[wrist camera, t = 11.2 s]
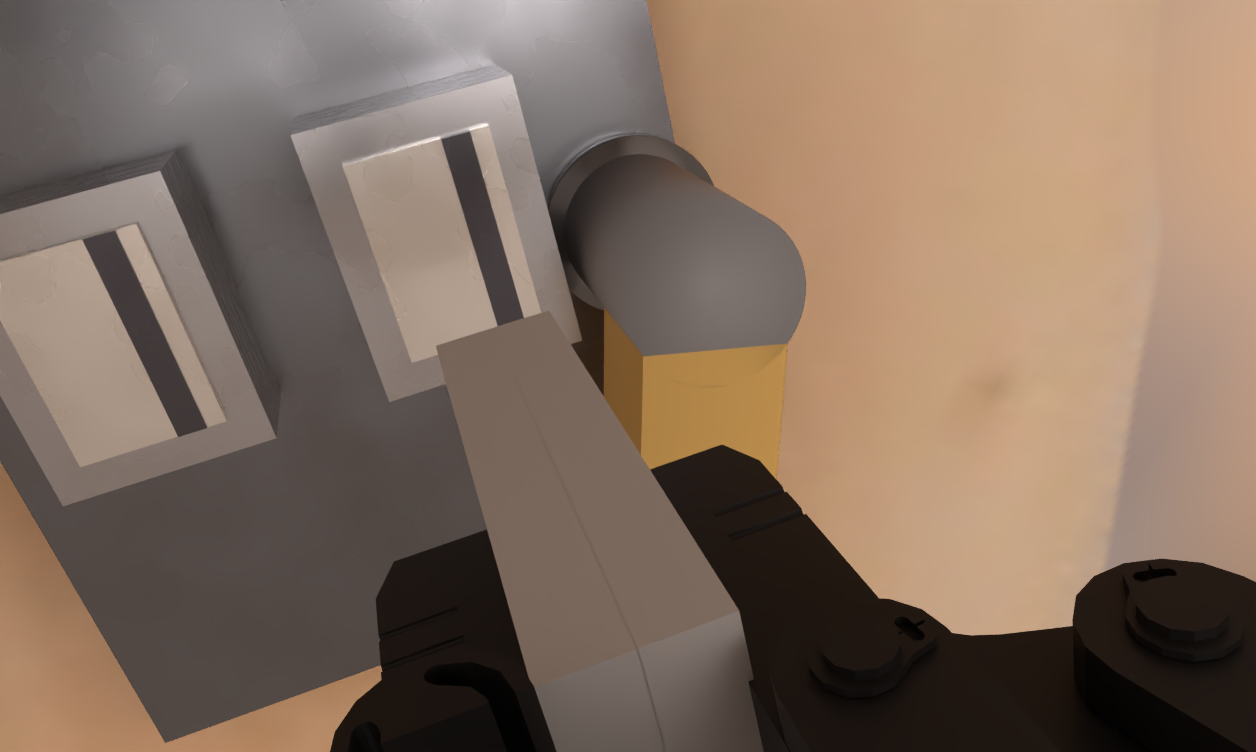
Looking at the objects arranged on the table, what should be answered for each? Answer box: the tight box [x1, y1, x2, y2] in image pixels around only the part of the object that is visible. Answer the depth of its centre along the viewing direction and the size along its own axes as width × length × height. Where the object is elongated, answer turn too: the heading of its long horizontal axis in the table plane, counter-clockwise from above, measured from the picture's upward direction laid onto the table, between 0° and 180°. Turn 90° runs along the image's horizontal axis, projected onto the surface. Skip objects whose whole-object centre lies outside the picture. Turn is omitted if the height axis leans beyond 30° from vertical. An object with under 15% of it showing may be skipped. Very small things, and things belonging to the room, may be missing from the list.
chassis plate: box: [0, 0, 714, 743], centre depth 22 cm, size 22×18×4 cm
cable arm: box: [564, 154, 806, 480], centre depth 24 cm, size 18×4×6 cm, turn 179°
